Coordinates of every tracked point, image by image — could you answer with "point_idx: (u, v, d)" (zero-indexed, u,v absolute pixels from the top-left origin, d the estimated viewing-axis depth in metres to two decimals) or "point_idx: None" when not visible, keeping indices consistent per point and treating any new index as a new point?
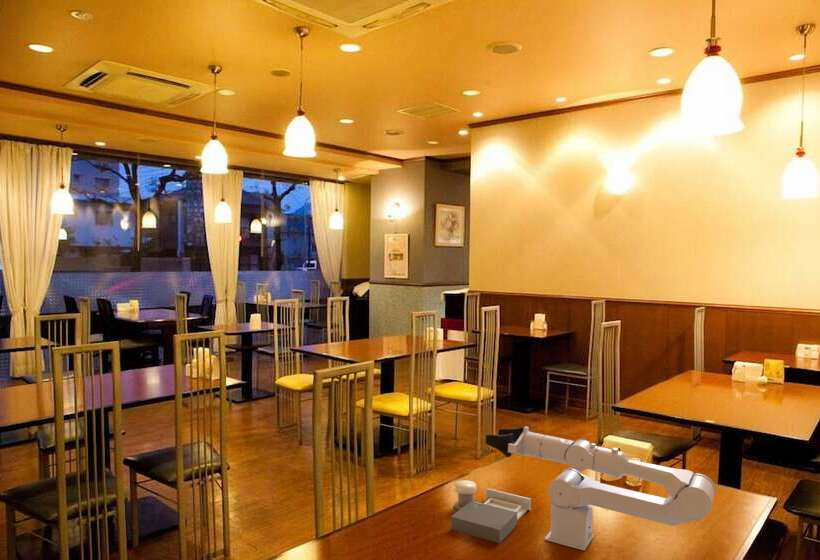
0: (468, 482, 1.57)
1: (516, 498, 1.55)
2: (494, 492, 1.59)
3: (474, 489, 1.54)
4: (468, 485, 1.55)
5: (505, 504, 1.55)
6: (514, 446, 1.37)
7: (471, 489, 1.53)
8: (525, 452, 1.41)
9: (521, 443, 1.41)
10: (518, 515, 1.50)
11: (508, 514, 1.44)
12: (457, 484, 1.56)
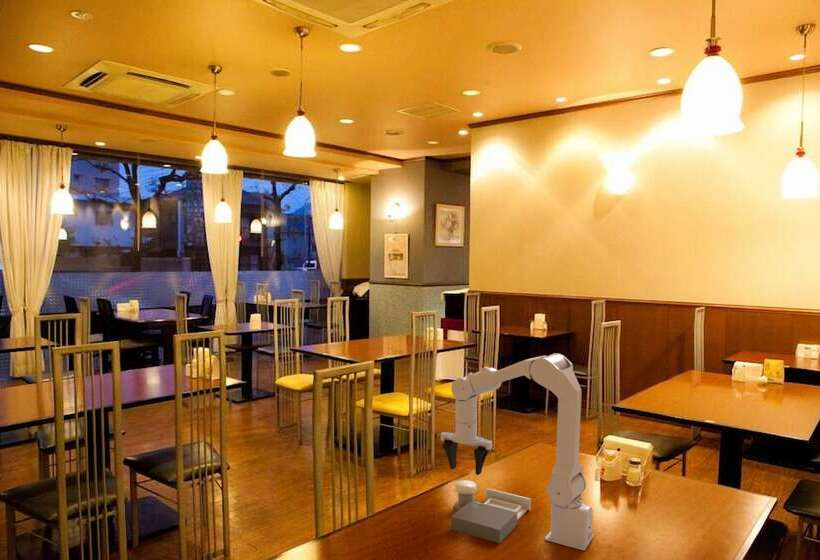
0: (468, 482, 1.57)
1: (516, 498, 1.55)
2: (494, 492, 1.59)
3: (474, 489, 1.54)
4: (468, 485, 1.55)
5: (505, 504, 1.55)
6: None
7: (471, 489, 1.53)
8: (455, 434, 1.55)
9: None
10: (518, 515, 1.50)
11: (508, 514, 1.44)
12: (457, 484, 1.56)
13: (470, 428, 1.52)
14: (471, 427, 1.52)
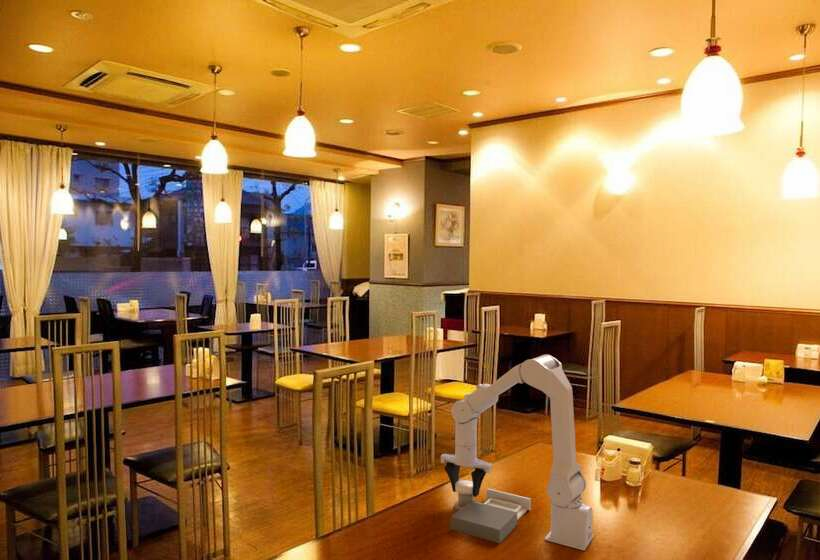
0: (468, 482, 1.57)
1: (516, 498, 1.55)
2: (494, 492, 1.59)
3: None
4: (468, 485, 1.55)
5: (505, 504, 1.55)
6: None
7: (471, 489, 1.53)
8: (455, 457, 1.55)
9: None
10: (518, 515, 1.50)
11: (508, 514, 1.44)
12: (457, 484, 1.56)
13: (470, 451, 1.53)
14: (471, 450, 1.53)
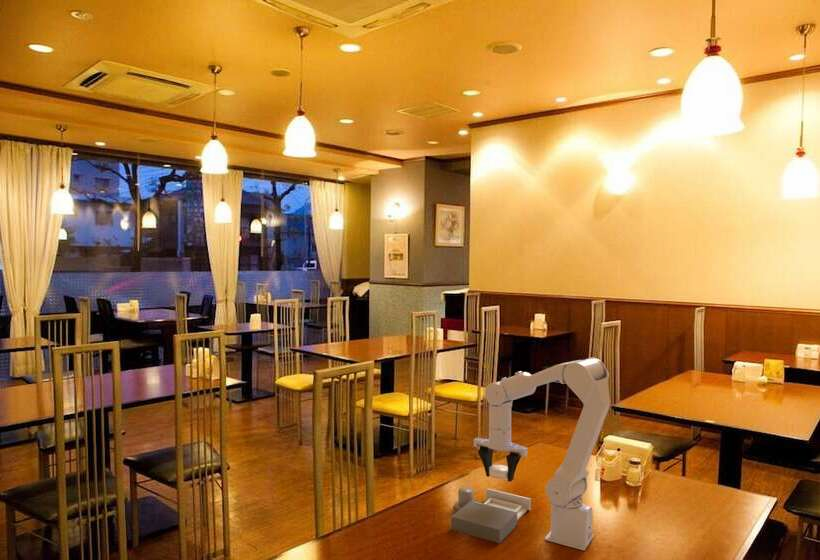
0: (502, 466, 1.53)
1: (516, 498, 1.55)
2: (494, 492, 1.59)
3: None
4: (502, 469, 1.51)
5: (505, 504, 1.55)
6: None
7: (506, 473, 1.49)
8: (489, 440, 1.51)
9: None
10: (518, 515, 1.50)
11: (508, 514, 1.44)
12: (491, 468, 1.52)
13: (505, 434, 1.49)
14: (506, 433, 1.49)
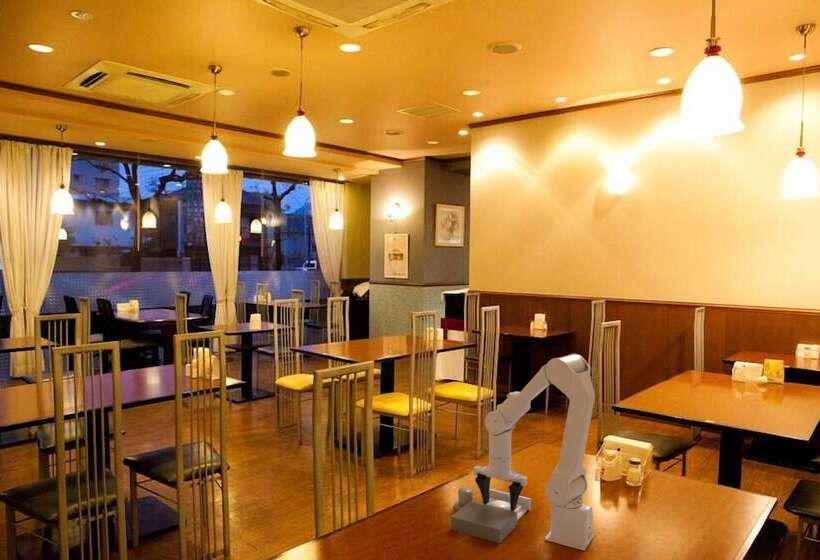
0: (502, 502, 1.53)
1: None
2: (494, 492, 1.59)
3: None
4: (502, 506, 1.51)
5: None
6: None
7: None
8: (489, 469, 1.52)
9: None
10: (518, 515, 1.50)
11: (508, 514, 1.44)
12: (491, 505, 1.52)
13: (505, 463, 1.49)
14: (506, 462, 1.49)
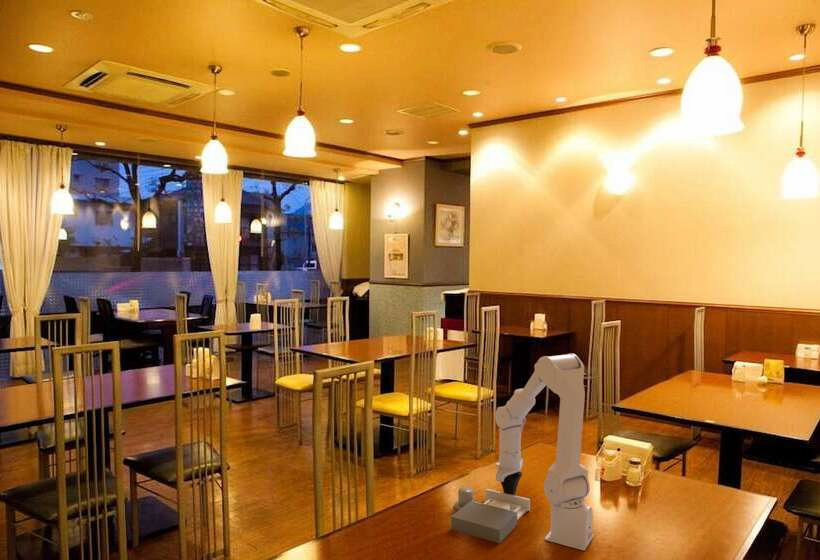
0: (502, 503, 1.53)
1: (515, 499, 1.55)
2: (493, 493, 1.58)
3: None
4: (501, 506, 1.51)
5: None
6: (496, 474, 1.52)
7: None
8: (512, 466, 1.55)
9: (503, 469, 1.55)
10: (517, 516, 1.49)
11: (508, 514, 1.44)
12: (490, 504, 1.52)
13: None
14: None
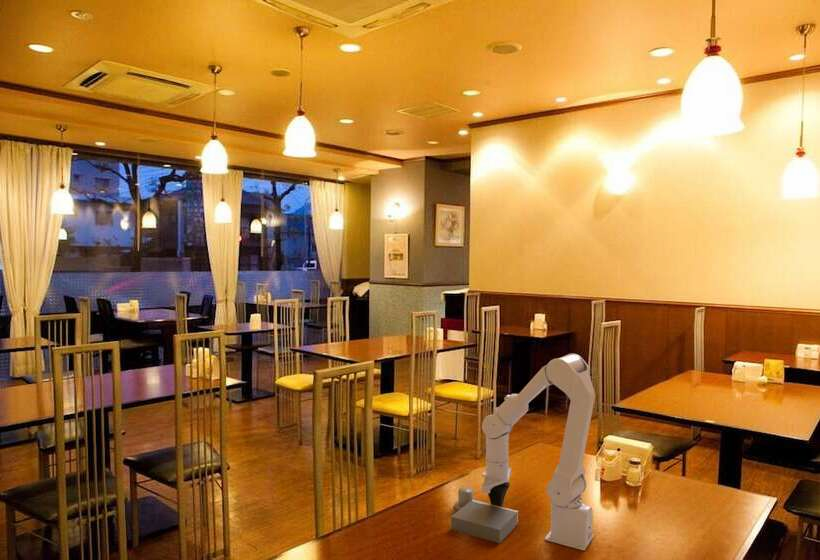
0: None
1: None
2: None
3: None
4: None
5: None
6: (482, 485, 1.45)
7: None
8: (499, 477, 1.47)
9: (490, 480, 1.48)
10: None
11: (508, 514, 1.44)
12: None
13: None
14: None
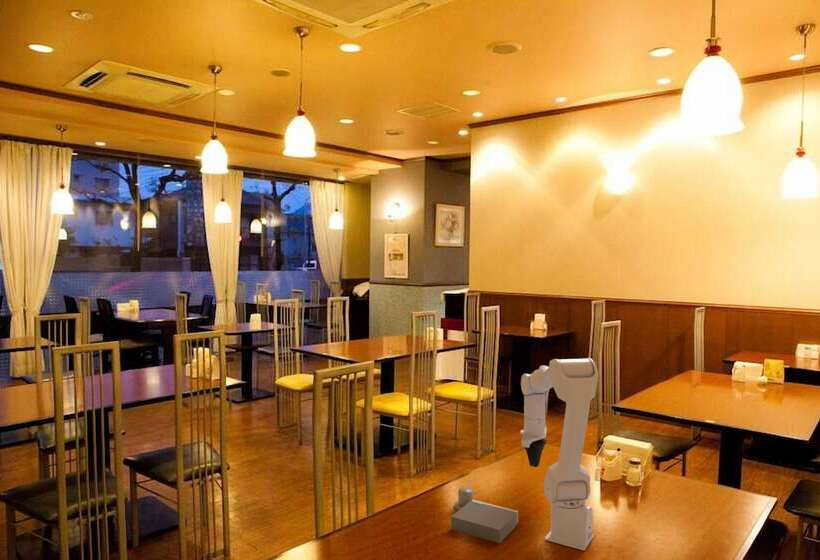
0: None
1: None
2: None
3: None
4: None
5: None
6: (522, 440, 1.53)
7: None
8: (537, 433, 1.56)
9: (528, 436, 1.57)
10: None
11: (508, 514, 1.44)
12: None
13: None
14: None
